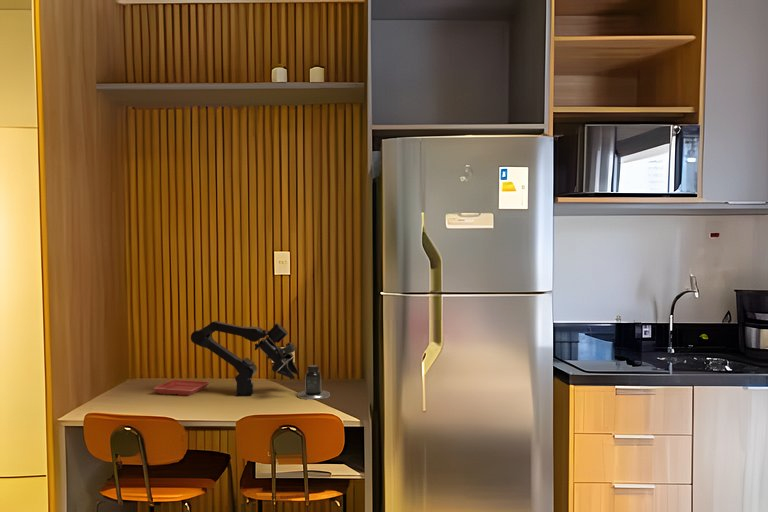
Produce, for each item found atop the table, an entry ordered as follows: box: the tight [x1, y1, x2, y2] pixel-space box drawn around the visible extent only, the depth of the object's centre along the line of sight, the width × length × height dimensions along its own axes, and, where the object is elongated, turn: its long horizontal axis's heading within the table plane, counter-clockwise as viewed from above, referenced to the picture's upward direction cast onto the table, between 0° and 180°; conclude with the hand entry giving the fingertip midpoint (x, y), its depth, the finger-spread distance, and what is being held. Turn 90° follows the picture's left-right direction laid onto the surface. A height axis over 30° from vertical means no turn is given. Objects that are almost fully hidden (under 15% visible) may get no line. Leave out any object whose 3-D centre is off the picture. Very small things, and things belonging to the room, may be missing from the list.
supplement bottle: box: [304, 364, 322, 395], centre depth 283 cm, size 7×7×12 cm
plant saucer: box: [153, 379, 210, 396], centre depth 291 cm, size 18×18×3 cm
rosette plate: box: [297, 389, 331, 400], centre depth 283 cm, size 14×14×1 cm
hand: (296, 376), depth 283 cm, fingers open, 9 cm apart
